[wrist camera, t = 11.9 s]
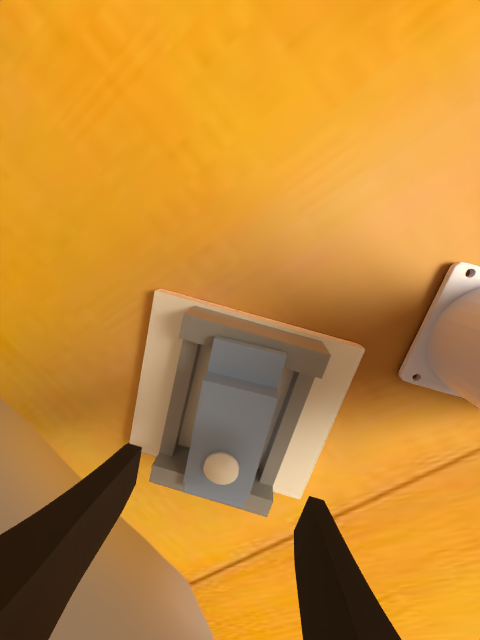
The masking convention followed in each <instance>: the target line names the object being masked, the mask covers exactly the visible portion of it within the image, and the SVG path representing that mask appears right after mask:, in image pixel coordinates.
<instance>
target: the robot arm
mask: <svg viewBox="0 0 480 640" xmlns="http://www.w3.org/2000/svg"><path fill="white" fill-rule="evenodd" d="M468 269H469V270H470V274H469V275H468V276H467V277H466V275H465V274H466V271H467V270H468ZM415 374H417V377H416V378H412V377H413V375H415ZM398 375H399V377H400V378H401V379H402V380H403V381H405V382H408V383H412V384H415V385H419V386H422V387H426V388H429V389H433V390H437V391H440V392H444V393H447V394H451V395H454V396H458V397H461V398H465V399H466V400H467V401H469V402H470V403H472V404H473V405H474V406H476V407H477V408H478V409H480V266H478V265H474V264H470V263H466V262H456V263H454V264H452V265H451V267H450V268H449V270H448V272H447V274H446V276H445V278H444V280H443V282H442V284H441V286H440V288H439V290H438V292H437V294H436V296H435V298H434V300H433V302H432V305H431V307H430V309H429V311H428V313H427V315H426V317H425V319H424V321H423V323H422V325H421V327H420V329H419V331H418V333H417V335H416V337H415V339H414V341H413V343H412V345H411V347H410V349H409V351H408V354H407V356H406V358H405V360H404V362H403V364H402V366H401V368H400V370H399V373H398ZM141 451H142V447H140V446H136V445H133V444H130V443H128V444H126V445H124V446H123V447H122V448H121V449H120V450H119V451H117V452H116V453H115V454H114V455H113V456H112V457H110V458H109V459H108V460H107V461H105V462H104V463H103V464H102V465H101V466H99V467H98V468H97V469H96V470H94V471H93V472H92V473H90V474H89V475H88V476H86V477H85V478H84V479H83V480H81V481H80V482H79V483H77V484H76V485H75V486H73V487H72V488H71V489H69V490H68V491H66V492H65V493H64V494H62V495H61V496H59V497H58V498H57V499H55V500H54V501H53V502H51V503H49V504H48V505H47V506H45V507H44V508H42V509H41V510H39V511H38V512H36V513H35V514H33V515H32V516H30V517H28V518H27V519H25V520H24V521H22V522H20V523H19V524H17V525H16V526H14V527H12V528H11V529H9V530H8V531H6V532H4V533H2V534H1V535H0V640H48V639H49V637H50V635H51V633H52V632H53V630H54V628H55V626H56V624H57V622H58V620H59V618H60V616H61V614H62V613H63V611H64V609H65V607H66V605H67V603H68V601H69V599H70V597H71V596H72V594H73V592H74V590H75V589H76V587H77V585H78V583H79V582H80V580H81V578H82V577H83V575H84V573H85V572H86V570H87V568H88V567H89V565H90V563H91V562H92V560H93V559H94V557H95V555H96V554H97V552H98V550H99V549H100V547H101V546H102V544H103V542H104V541H105V539H106V537H107V536H108V534H109V532H110V531H111V529H112V527H113V526H114V524H115V523H116V521H117V519H118V518H119V516H120V514H121V513H122V511H123V509H124V507H125V505H126V503H127V501H128V499H129V497H130V495H131V493H132V490H133V488H134V486H135V484H136V479H137V473H138V468H139V462H140V456H141ZM294 560H295V572H296V581H297V591H298V599H299V608H300V617H301V625H302V634H303V640H401V638H400V636H399V635H398V633H397V632H396V630H395V629H394V627H393V626H392V624H391V622H390V621H389V619H388V618H387V616H386V614H385V613H384V611H383V609H382V608H381V606H380V604H379V602H378V601H377V599H376V597H375V596H374V594H373V592H372V591H371V589H370V587H369V585H368V584H367V582H366V580H365V578H364V576H363V575H362V573H361V571H360V569H359V567H358V565H357V564H356V562H355V560H354V558H353V556H352V554H351V552H350V551H349V549H348V547H347V545H346V543H345V541H344V539H343V537H342V535H341V533H340V531H339V529H338V527H337V525H336V523H335V521H334V519H333V517H332V515H331V513H330V511H329V509H328V507H327V506H326V504H325V502H324V500H321V499H318V498H314V497H311V496H309V498H308V500H307V502H306V505H305V507H304V509H303V512H302V514H301V516H300V518H299V521H298V523H297V525H296V528H295V530H294Z"/></svg>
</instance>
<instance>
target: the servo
mask: <svg viewBox="0 0 480 640" xmlns="http://www.w3.org/2000/svg"><path fill="white" fill-rule="evenodd" d="M286 357H287V354H286V352H282V351H278V350H274V349H270V348H266V347H261V346H257V345H253V344H249V343H245V342H241V341H236V340H232V339H228V338H224V337H220V336H215V338H214V341H213V346H212V351H211V356H210V361H209V366H208V371H207V373H206V375H205V377H204V380H203V384H202V389H201V394H200V399H199V404H198V409H197V414H196V419H195V424H194V430H193V435H192V440H191V445H190V450H189V455H188V460H187V465H186V470H185V475H184V480H183V483H185V487H184V493H188V494H192V495H196V496H199V497H203V498H207V499H211V500H214V501H218V502H222V503H226V504H229V505H233V506H237V507H241V508H243V505H244V501H245V499H247V500H248V499H249V496H250V492H251V489H252V486H253V482H254V479H255V476H256V472H257V469H258V465H259V462H260V459H261V455H262V452H263V449H264V445H265V442H266V438H267V435H268V432H269V428H270V425H271V422H272V418H273V415H274V412H275V408H276V405H277V401H278V389H277V388H278V385H279V381H280V378H281V375H282V371H283V368H284V364H285V361H286Z"/></svg>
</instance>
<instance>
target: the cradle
mask: <svg viewBox="0 0 480 640" xmlns="http://www.w3.org/2000/svg"><path fill="white" fill-rule="evenodd" d="M215 336H220V337H224V338H228V339H232V340H236V341H241V342H245V343H249V344H253V345H257V346H261V347H266V348H270V349H274V350H278V351H282V352H286V354H287V357H286V361H285V364H284V368H283V371H282V375H281V378H280V381H279V385H278V388H277V389H278V401H277V405H276V408H275V412H274V415H273V418H272V422H271V425H270V428H269V432H268V435H267V438H266V442H265V445H264V449H263V452H262V455H261V459H260V462H259V465H258V469H257V472H256V476H255V479H254V482H253V486H252V489H251V492H250V496H249V499H248V500H247V499H245V501H244V505H243V508H241V507H237V506H233V505H229V504H226V503H222V502H218V501H215V502H218V503H222V504H225V505H228V506H232V507H235V508H238V509H242V510H245V511H248V512H252V513H255V514H258V515H262V516H265V517H267V515H268V513H269V510H270V508H271V505H272V503H273V492H276V493H280V494H283V495H286V496H290V497H293V498H296V499H300V498H301V496H302V494H303V492H304V489H305V487H306V485H307V482H308V480H309V478H310V476H311V473H312V471H313V469H314V466H315V464H316V462H317V459H318V457H319V455H320V453H321V450H322V448H323V446H324V443H325V441H326V439H327V437H328V434H329V432H330V430H331V427H332V425H333V423H334V420H335V418H336V416H337V414H338V411H339V409H340V407H341V404H342V402H343V400H344V398H345V395H346V393H347V391H348V388H349V386H350V384H351V382H352V379H353V377H354V375H355V372H356V370H357V368H358V365H359V363H360V361H361V359H362V356H363V354H364V352H365V349H364V348H363V347H362V346H361V345H360V344H358V343H354V342H351V341H347V340H344V339H340V338H336V337H333V336H329V335H326V334H322V333H319V332H315V331H311V330H308V329H304V328H301V327H297V326H294V325H290V324H286V323H283V322H279V321H276V320H272V319H269V318H265V317H261V316H258V315H254V314H251V313H247V312H244V311H240V310H236V309H233V308H229V307H226V306H222V305H219V304H215V303H211V302H208V301H204V300H201V299H197V298H194V297H190V296H186V295H183V294H179V293H176V292H172V291H169V290H165V289H162V288H161V289H158V290H155V293H154V299H153V305H152V311H151V317H150V323H149V329H148V334H147V340H146V346H145V352H144V358H143V364H142V370H141V376H140V382H139V388H138V394H137V400H136V406H135V412H134V418H133V424H132V430H131V436H130V442H129V443H130V444H133V445H136V446H140V447H142V451H141V452H142V453H146V454H149V455H152V456H156V459H155V461H154V463H153V465H152V470H151V474H150V479H149V482H152V483H155V484H159V485H162V486H165V487H169V488H172V489H175V490H179V491H182V492H184V487H185V483H183V480H184V475H185V470H186V465H187V460H188V455H189V450H190V445H191V440H192V435H193V430H194V424H195V419H196V414H197V409H198V404H199V399H200V394H201V389H202V384H203V380H204V377H205V375H206V373H207V371H208V366H209V361H210V356H211V351H212V346H213V341H214V338H215ZM195 496H196V495H195ZM202 498H203V497H202ZM205 499H207V498H205ZM209 500H211V499H209ZM212 501H214V500H212Z"/></svg>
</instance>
